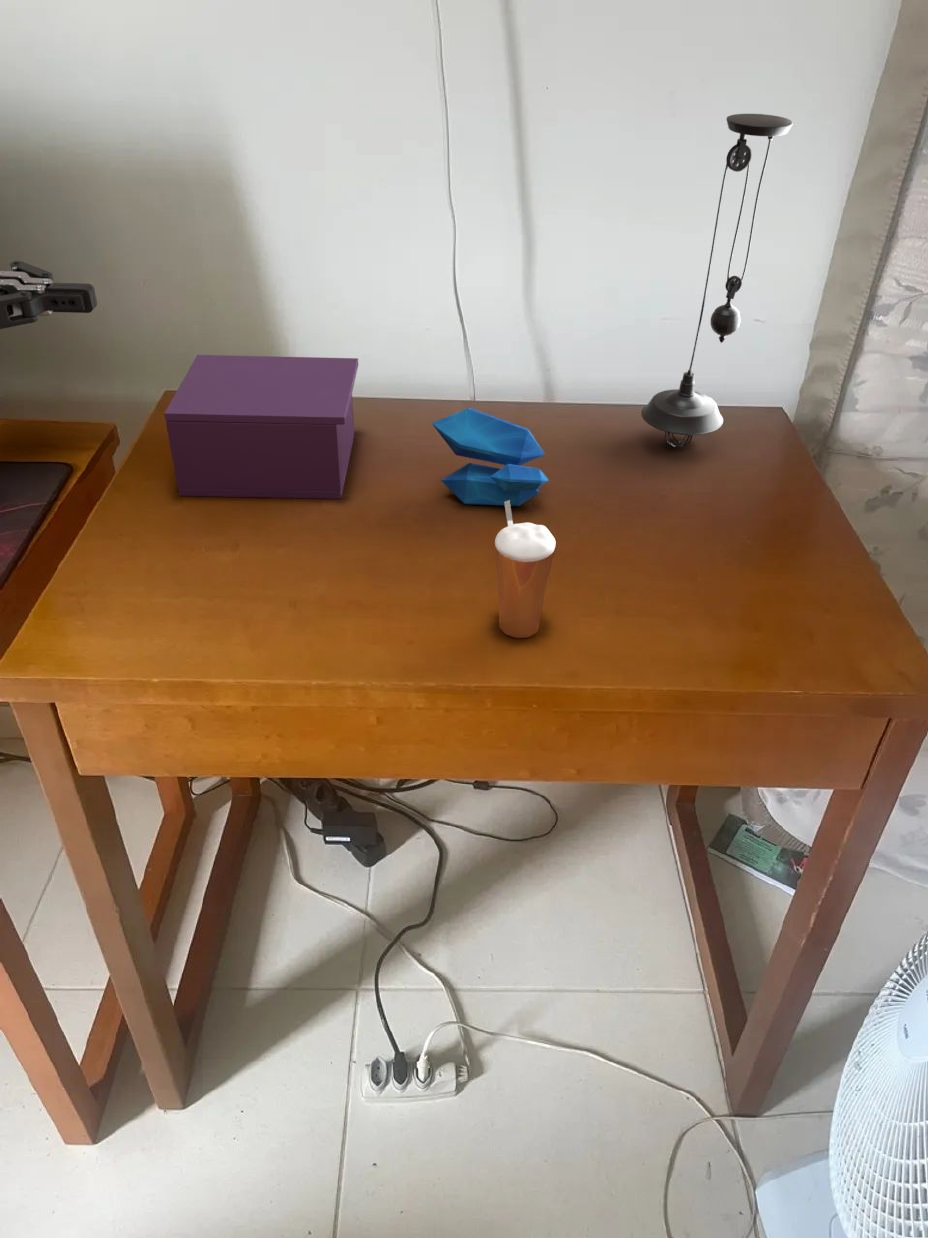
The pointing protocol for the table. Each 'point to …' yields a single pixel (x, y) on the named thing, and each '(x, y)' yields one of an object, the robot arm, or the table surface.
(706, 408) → the light fixture
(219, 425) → the box
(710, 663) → the table surface
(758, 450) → the table surface
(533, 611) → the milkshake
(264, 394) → the lid
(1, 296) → the robot arm
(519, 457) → the gemstones
